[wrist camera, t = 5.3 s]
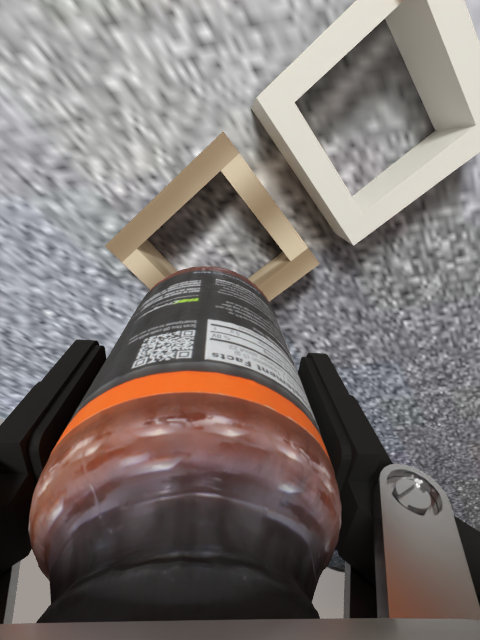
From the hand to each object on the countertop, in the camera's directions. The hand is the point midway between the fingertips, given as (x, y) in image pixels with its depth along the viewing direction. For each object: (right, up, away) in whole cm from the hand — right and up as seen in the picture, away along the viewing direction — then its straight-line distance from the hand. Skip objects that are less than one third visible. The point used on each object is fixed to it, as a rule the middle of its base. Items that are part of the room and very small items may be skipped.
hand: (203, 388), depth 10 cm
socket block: (+9, +16, +12) cm, 22 cm away
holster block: (-1, +8, +15) cm, 17 cm away
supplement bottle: (0, +2, +4) cm, 4 cm away
